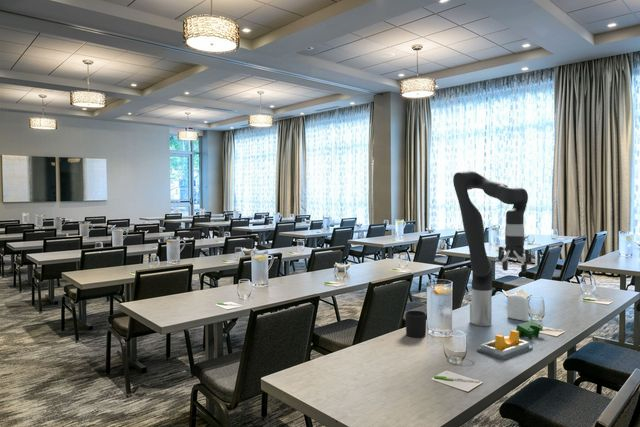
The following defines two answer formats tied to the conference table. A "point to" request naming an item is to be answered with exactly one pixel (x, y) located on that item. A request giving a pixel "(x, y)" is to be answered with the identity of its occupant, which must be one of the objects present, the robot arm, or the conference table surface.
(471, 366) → the conference table surface
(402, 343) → the conference table surface
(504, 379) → the conference table surface
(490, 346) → the grey metal tray
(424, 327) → the pen holder
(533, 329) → the clamp
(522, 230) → the robot arm
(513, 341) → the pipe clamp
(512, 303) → the white napkin holder
